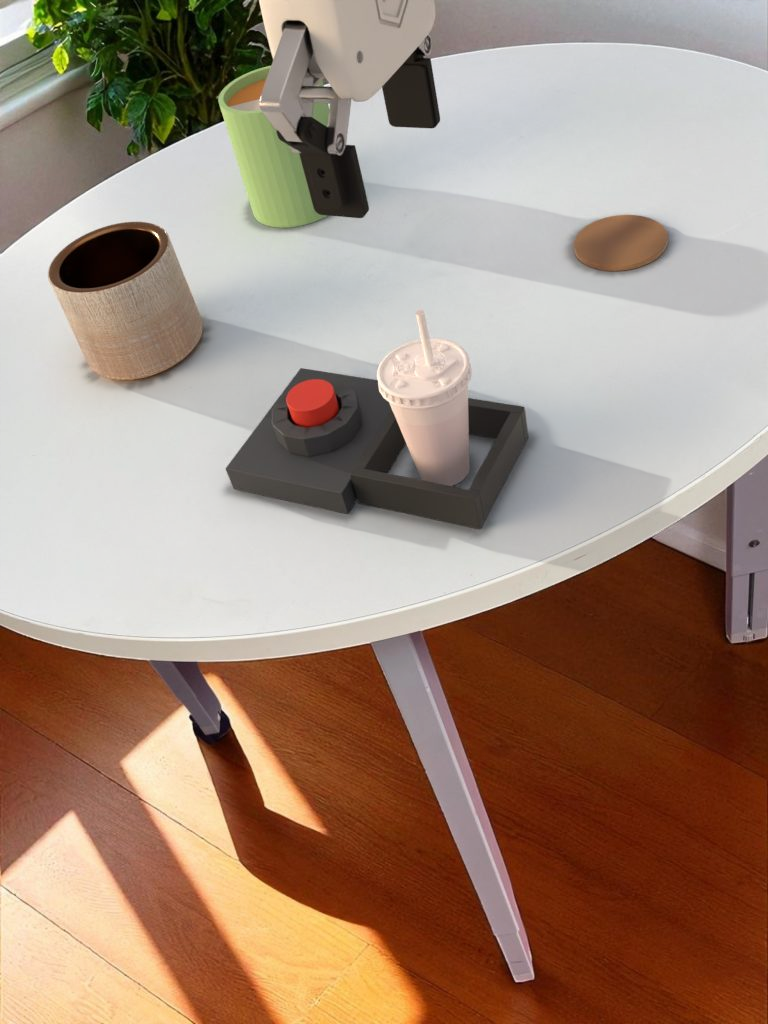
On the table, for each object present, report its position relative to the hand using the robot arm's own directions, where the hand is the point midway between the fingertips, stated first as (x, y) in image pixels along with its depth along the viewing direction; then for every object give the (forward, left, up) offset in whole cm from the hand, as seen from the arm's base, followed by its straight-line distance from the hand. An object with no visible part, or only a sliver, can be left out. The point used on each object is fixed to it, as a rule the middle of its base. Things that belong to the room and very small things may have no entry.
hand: (380, 167), depth 61 cm
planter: (+33, -8, -24) cm, 42 cm away
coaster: (-4, -30, -24) cm, 39 cm away
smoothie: (0, 0, -24) cm, 24 cm away
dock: (0, 0, -24) cm, 24 cm away
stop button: (+10, 0, -21) cm, 23 cm away
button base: (+10, 0, -24) cm, 26 cm away
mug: (+31, -34, -24) cm, 52 cm away
